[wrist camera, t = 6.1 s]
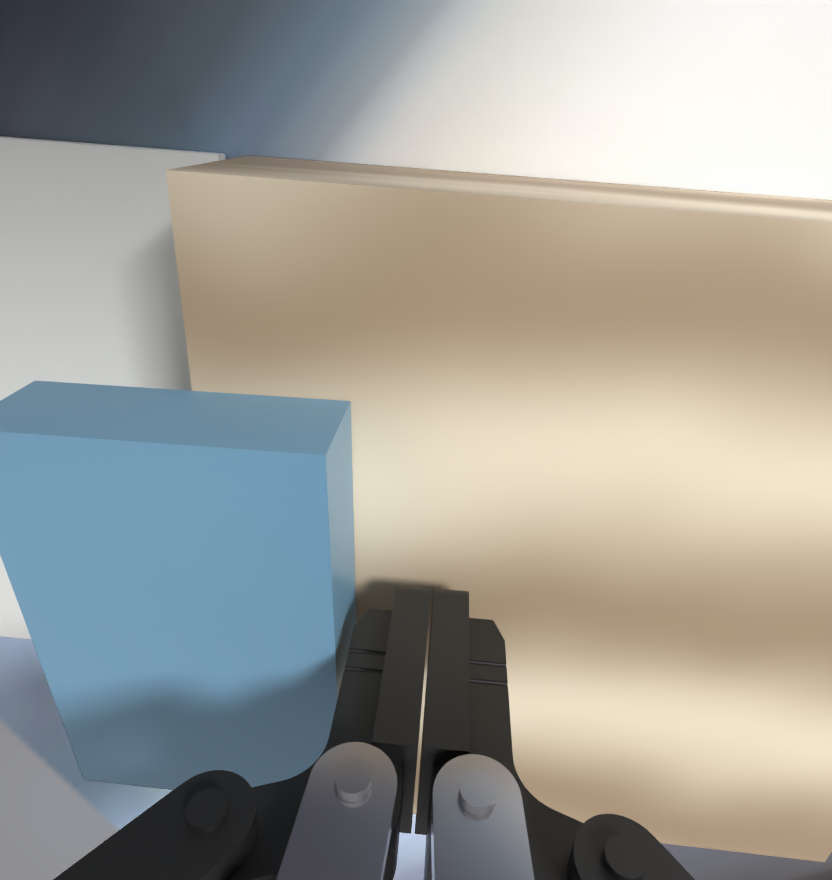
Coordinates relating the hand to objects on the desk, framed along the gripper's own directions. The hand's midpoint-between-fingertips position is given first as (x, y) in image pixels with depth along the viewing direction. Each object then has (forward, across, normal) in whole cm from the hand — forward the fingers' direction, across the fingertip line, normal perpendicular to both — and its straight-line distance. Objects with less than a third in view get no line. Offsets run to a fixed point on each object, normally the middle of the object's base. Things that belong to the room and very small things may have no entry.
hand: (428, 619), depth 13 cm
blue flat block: (+1, +5, 0) cm, 5 cm away
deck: (+5, -3, 0) cm, 6 cm away
